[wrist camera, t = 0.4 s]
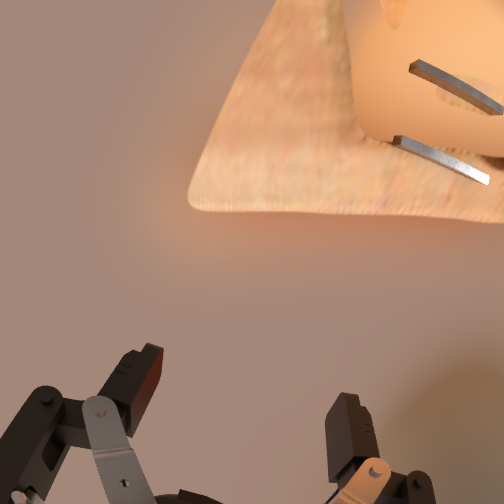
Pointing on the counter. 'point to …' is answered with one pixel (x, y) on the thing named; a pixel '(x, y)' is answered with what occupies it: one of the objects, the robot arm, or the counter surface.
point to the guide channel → (465, 93)
